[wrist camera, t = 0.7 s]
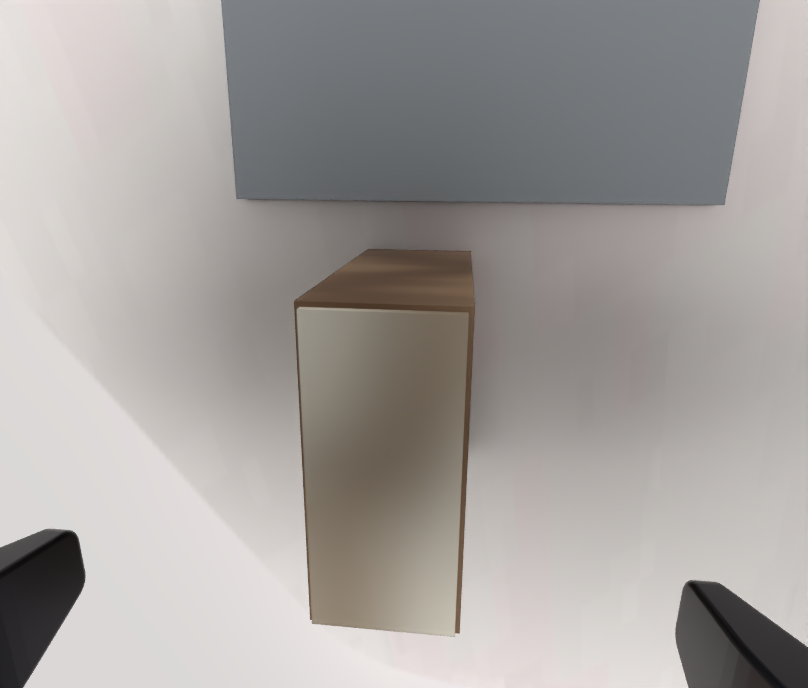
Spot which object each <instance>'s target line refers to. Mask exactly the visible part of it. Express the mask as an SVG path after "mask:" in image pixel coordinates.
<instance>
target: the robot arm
mask: <svg viewBox="0 0 808 688" xmlns="http://www.w3.org/2000/svg"><path fill="white" fill-rule="evenodd" d="M84 583H85V569H84V564H83V558H82V553H81V549H80V543H79V538H78V536H77V535H76V533H75V532H73V531H71V530H61V529H45V530H42V531H40V532H37V533H35V534H33V535H30V536H28V537H25V538H23V539H20V540H18V541H15V542H13V543H11V544H8V545H5V546H3V547H1V548H0V688H23V687H24V685H25V683H26V682H27V680H28V679H29V677H30V676H31V674H32V673H33V671H34V669H35V668H36V666H37V664H38V663H39V661H40V659H41V658H42V656H43V654H44V653H45V651H46V650H47V648H48V646H49V645H50V643H51V641H52V640H53V638H54V636H55V635H56V633H57V631H58V630H59V628H60V627H61V625H62V623H63V622H64V620H65V618H66V617H67V615H68V613H69V612H70V610H71V608H72V607H73V605H74V603H75V602H76V600H77V598H78V597H79V595H80V593H81V591H82V589H83V587H84ZM675 635H676V644H677V648H678V652H679V655H680V659H681V663H682V666H683V670H684V673H685V677H686V680H687V684H688V687H689V688H808V647H807V646H805V645H804V644H803V643H801V642H800V641H799V640H797V639H796V638H794V637H793V636H792V635H790V634H789V633H788V632H786V631H785V630H784V629H782V628H781V627H779V626H778V625H777V624H775V623H774V622H773V621H771V620H770V619H768V618H767V617H766V616H764V615H763V614H762V613H760V612H759V611H757V610H756V609H755V608H753V607H752V606H751V605H749V604H748V603H747V602H745V601H744V600H742V599H741V598H740V597H738V596H737V595H736V594H734V593H733V592H731V591H730V590H729V589H727V588H726V587H725V586H723V585H721V584H720V583H717V582H709V581H696V580H690V581H688V582H686V583H685V585H684V587H683V591H682V596H681V601H680V607H679V612H678V618H677V623H676V632H675Z"/></svg>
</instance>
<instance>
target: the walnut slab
mask: <svg viewBox="0 0 808 688" xmlns="http://www.w3.org/2000/svg"><path fill="white" fill-rule="evenodd" d="M294 309H295V329H296V349H297V369H298V388H299V408H300V428H301V448H302V467H303V487H304V507H305V527H306V546H307V566H308V586H309V606H310V620H312V624H321V625H332V626H343V627H353V628H364V629H375V630H386V631H397V632H407V633H418V634H429V635H440V636H451V637H455V633H459V634H460V612H461V591H462V570H463V548H464V527H465V506H466V484H467V463H468V441H469V420H470V399H471V377H472V356H473V335H474V313H475V303H474V289H473V276H472V262H471V251H437V250H390V249H368V250H366V251H365V252H363V253H362V254H360V255H359V256H358V257H356V258H355V259H353V260H352V261H350V262H349V263H348V264H346V265H345V266H343V267H342V268H341V269H339V270H338V271H336V272H335V273H333V274H332V275H331V276H329V277H328V278H326V279H325V280H323V281H322V282H321V283H319V284H318V285H316V286H315V287H313V288H312V289H311V290H309V291H308V292H306V293H305V294H303V295H302V296H301V297H299V298H298V299H296V300H295V301H294Z"/></svg>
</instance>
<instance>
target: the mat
mask: <svg viewBox="0 0 808 688" xmlns="http://www.w3.org/2000/svg"><path fill="white" fill-rule="evenodd" d="M759 1H760V0H221V2H222V15H223V28H224V41H225V54H226V67H227V80H228V93H229V106H230V119H231V132H232V145H233V158H234V171H235V184H236V197H237V199H292V200H372V201H451V202H531V203H610V204H690V205H725V199H726V193H727V187H728V181H729V176H730V170H731V164H732V158H733V152H734V146H735V141H736V135H737V129H738V123H739V117H740V112H741V106H742V100H743V94H744V88H745V82H746V77H747V71H748V65H749V59H750V53H751V48H752V42H753V36H754V30H755V24H756V18H757V13H758V7H759Z"/></svg>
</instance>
